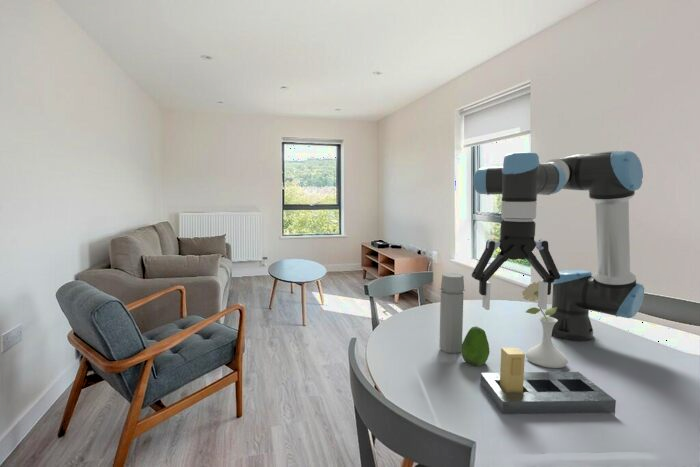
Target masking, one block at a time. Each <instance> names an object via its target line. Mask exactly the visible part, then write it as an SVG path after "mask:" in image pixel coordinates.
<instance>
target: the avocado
mask: <svg viewBox="0 0 700 467" xmlns="http://www.w3.org/2000/svg"><path fill="white" fill-rule="evenodd" d="M460 352H461V357H462V360H463V361H464V362H465V363H466V364H468V365H470V366H473V367H480V366H483V365H484V364H486V363H487V360H489V356H490V352H491V351H490V344H489V340H488V338H487V334H486V331H485V330H484V329H483V328H481V327H479V326H473V327H470V329H469V330H468V331H467V333H466V334H465V337H464V339H463V340H462V348H461V351H460Z"/></svg>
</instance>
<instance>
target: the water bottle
mask: <svg viewBox="0 0 700 467" xmlns="http://www.w3.org/2000/svg"><path fill="white" fill-rule="evenodd" d="M464 282H465V280H464V275H463V274H461V273H458V272H457V273H455V272H445V273H443V274H442V276H441V283H440V288H439V290H440V301H439V302H440V303H439V304H440V306H439V307H440V308H439V310H440V311H439V312H440V314H439V349H440V350H441V351H442V352H444V353H446V354H451V355H453V354H457V353H458V354H459V353H460V352H461V348H462V343H463V330H464V329H463V326H464V325H463V324H464V320H463V318H464V292H465V291H466V290H465V283H464Z"/></svg>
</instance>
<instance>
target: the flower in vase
mask: <svg viewBox="0 0 700 467" xmlns="http://www.w3.org/2000/svg"><path fill="white" fill-rule="evenodd" d="M538 291H539V281H538V282H536V281H534V282H532V283H529V284H528V285H527V286H526V287H524V290H523V291H522V296H523V299H524V300H526V301H529V302H536V301H538ZM556 310H557V307H555V308H552V307H551V308H548V309H547V310H545V311H543V309H542V308H540V307H530V308H528V309H527V310H526V311H525V313H527V314H530V315H531V314H532V315H536V314H538V313H539V312H541V313H542V315H543V316H539V317H538V320H540V322H541V325H542V332H543V333H542V334H543V336H542V340H541V342H540V343H538V344H536V345H534V346H532V347H530V348H529V349H528V350H526V352H525V353H524V354H525V358H526V359H527V360H528V361H529V362H531V363H533V364H534V365H537V366H540V367H544V368H549V369H561V368H564V367H566V366H567V365H568V364H569V361H568V359H567V357H566V356H565V354H564V353H563V352H562V351H561V350H560V349H559V348H557V347H556V346H555V345H554V344H553V341H552V336H553V335H552V330H553V327H554V325H555V323H556V322H557V321H558V320H557V319H555V318H552V317H549V315H552V314H554V313H555V312H556Z"/></svg>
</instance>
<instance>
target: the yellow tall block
mask: <svg viewBox="0 0 700 467" xmlns="http://www.w3.org/2000/svg"><path fill="white" fill-rule="evenodd" d="M525 354H526V353H524V352H523V351H522V350H521V349H520V348H518V347H514V346H513V347H509V346H508V347H500V369H499V370H500V371H499V373H500V388H501V389H502V390H503V392H523V382H524V372H525V362H526V361H525V360H526V359H525V358H526V356H525Z"/></svg>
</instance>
